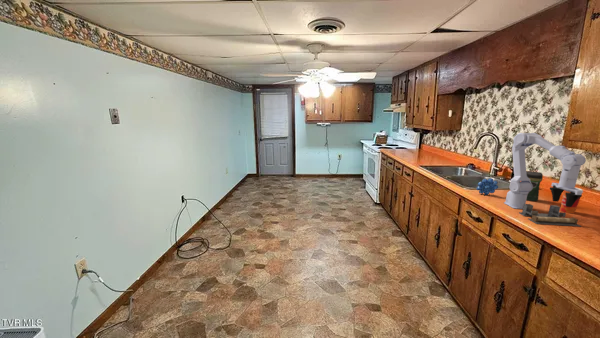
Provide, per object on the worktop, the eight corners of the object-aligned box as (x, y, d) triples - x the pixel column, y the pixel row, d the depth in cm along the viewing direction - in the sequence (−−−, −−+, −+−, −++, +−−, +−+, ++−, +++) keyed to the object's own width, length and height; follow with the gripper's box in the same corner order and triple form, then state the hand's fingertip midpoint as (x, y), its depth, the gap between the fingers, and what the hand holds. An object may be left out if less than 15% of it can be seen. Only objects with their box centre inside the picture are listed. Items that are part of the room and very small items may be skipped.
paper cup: (556, 207, 147) (562, 185, 144) (575, 211, 142) (582, 188, 139) (559, 211, 141) (565, 188, 138) (578, 215, 136) (585, 191, 133)
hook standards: (518, 213, 138) (521, 203, 137) (554, 215, 136) (557, 205, 135) (528, 218, 132) (530, 207, 130) (566, 220, 129) (569, 209, 128)
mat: (527, 219, 131) (527, 218, 131) (570, 221, 128) (570, 220, 128) (536, 224, 125) (536, 223, 125) (581, 226, 123) (581, 225, 122)
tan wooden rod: (535, 221, 127) (536, 217, 126) (531, 219, 129) (532, 215, 128) (576, 224, 124) (578, 219, 124) (572, 222, 127) (573, 217, 126)
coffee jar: (536, 199, 162) (542, 171, 158) (538, 202, 156) (545, 174, 152) (517, 196, 168) (522, 169, 163) (518, 199, 161) (524, 171, 157)
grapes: (495, 194, 170) (499, 178, 167) (496, 197, 164) (500, 180, 162) (475, 191, 176) (478, 175, 173) (475, 194, 171) (478, 177, 168)
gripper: (547, 174, 130) (541, 198, 133) (572, 181, 116) (565, 208, 119) (562, 174, 129) (556, 199, 132) (590, 182, 115) (582, 209, 118)
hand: (561, 203), depth 126 cm, fingers open, 7 cm apart
